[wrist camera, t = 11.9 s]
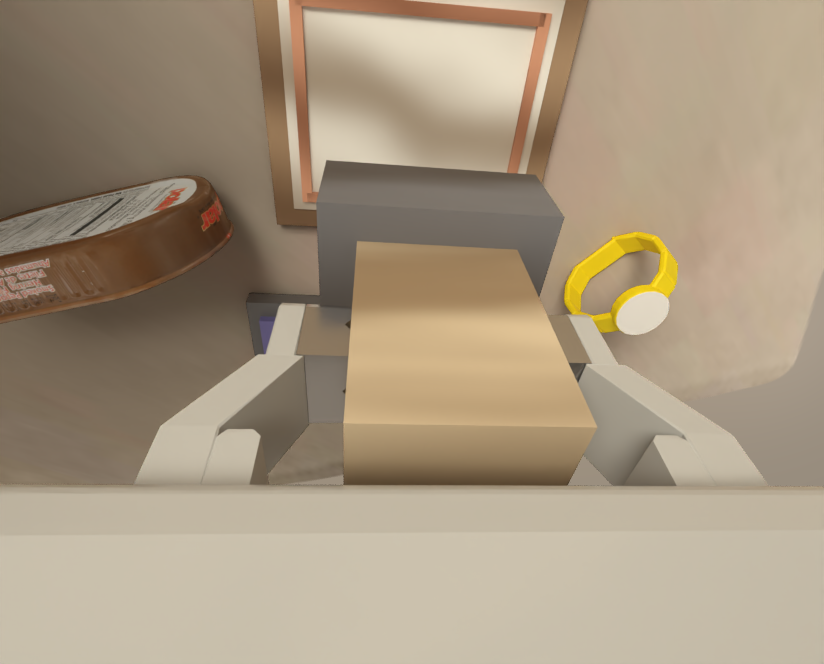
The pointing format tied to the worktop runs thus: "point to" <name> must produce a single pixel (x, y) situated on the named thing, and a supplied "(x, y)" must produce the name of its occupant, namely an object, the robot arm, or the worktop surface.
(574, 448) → the stamp
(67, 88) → the worktop surface
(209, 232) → the tin
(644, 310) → the watch
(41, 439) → the worktop surface
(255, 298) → the ink pad
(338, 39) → the board
